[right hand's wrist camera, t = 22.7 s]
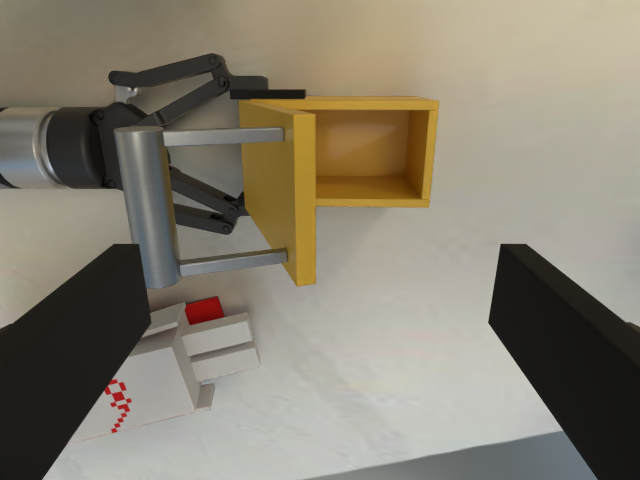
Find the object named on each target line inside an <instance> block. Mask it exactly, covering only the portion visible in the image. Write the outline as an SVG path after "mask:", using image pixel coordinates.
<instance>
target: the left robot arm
mask: <svg viewBox="0 0 640 480" xmlns="http://www.w3.org/2000/svg"><path fill="white" fill-rule="evenodd" d="M208 72H211V73H212V75H213V78H214V79H213V80H212V81H210V82H208V83H206V84H205V85H203V86H201V87H199V88H198V89H196V90H194V91H192V92H191V93H189V94H187V95H185V96H183V97H182V98H180V99H178V100H176V101H175V102H173V103H171V104H169V105H168V106H166V107H164V108H162V109H160V110H159V111H156V112H154V113H152V114H150V115H147V114H146V113H144V112H143V111H141V110H140V109H138V108H137V107H136V106H134V105H133V104H131V103H130V100H131V98H132V97H134V96H138V95H140V94H141V92H142V87H153V86H157V85H161V84H165V83H169V82H173V81H177V80H181V79H185V78H189V77H192V76H196V75H200V74H204V73H208ZM108 78H109V81H110V82H111V83H112V84H113V85H114V88H115V102H114V103H112V104H111V105H109V106H107V107H63V108H60V109H58V108H56V107H10V108H0V189H6V188H17V189H66V188H69V187H70V188H73V189H119V190H122V191H123V185H122V179H121V172H120V166H119V160H118V154H117V148H116V142H115V136H114V129H117V128H122V127H134V126H158V127H163V128H164V127H165V126H167V125H169V124H171V123H172V122H174V121H175V120H177V119H179V118H181V117H182V116H184V115H186V114H188V113H190V112H191V111H193V110H195V109H197V108H199V107H200V106H202V105H204V104H206V103H208V102H209V101H211V100H213V99H215V98H217V97H218V96H220V95H222V94H224V93H225V92H227V91H230V99H305V98H306V90H268V78H265V77H263V76H233V75H232V74H230V72H229V71H228V69H227V66H226V64H225V59H224V58H223V57H222V56H220V55H217V54H207V55H203V56H199V57H195V58H192V59H188V60H184V61H180V62H176V63H172V64H168V65H165V66H161V67H157V68H153V69H149V70H145V71H141V72H138V73H136V72H128V71H111V72H110V73H109V76H108ZM166 148H167V147H166ZM167 157H168V165H169V164H170V163H171V161H170V155H169V152H168V149H167ZM169 173H170V181H171V189H172V190H173V191H175V192H178V193H180V194H182V195H184V196H186V197H188V198H190V199H193V200H195V201H197V202H199V203H201V204H203V205H205V206H208V207H210V208H212V209H214V210H216V211H218V212H221V213H223V214H221V213H216V212H211V211H207V210H202V209H198V208H193V207H189V206H184V205H179V204H175V203H173V205H174V213H175V221H176V224H178V225H183V226H188V227H192V228H197V229H202V230H206V231H211V232H216V233H220V234H225V235H228V234H230V233H231V232H232V231H233V229H234V227H235V226H236V223H237V219H238V217H240V216H250V215H249V213H248V212H247V210H246V209H245V199H244V192H242V193H241V194H240V196H239V197H238V198H235V197H232V196H230V195H228V194H226V193H224V192H222V191H220V190H218V189H216V188H213V187H211V186H209V185H207V184H205V183H203V182H201V181H199V180H197V179H194V178H192V177H190V176H188V175H186V174H184V173H182V172H181V171H180V170H179V169H177V168H175V167H173V166H171V165H169Z"/></svg>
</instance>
